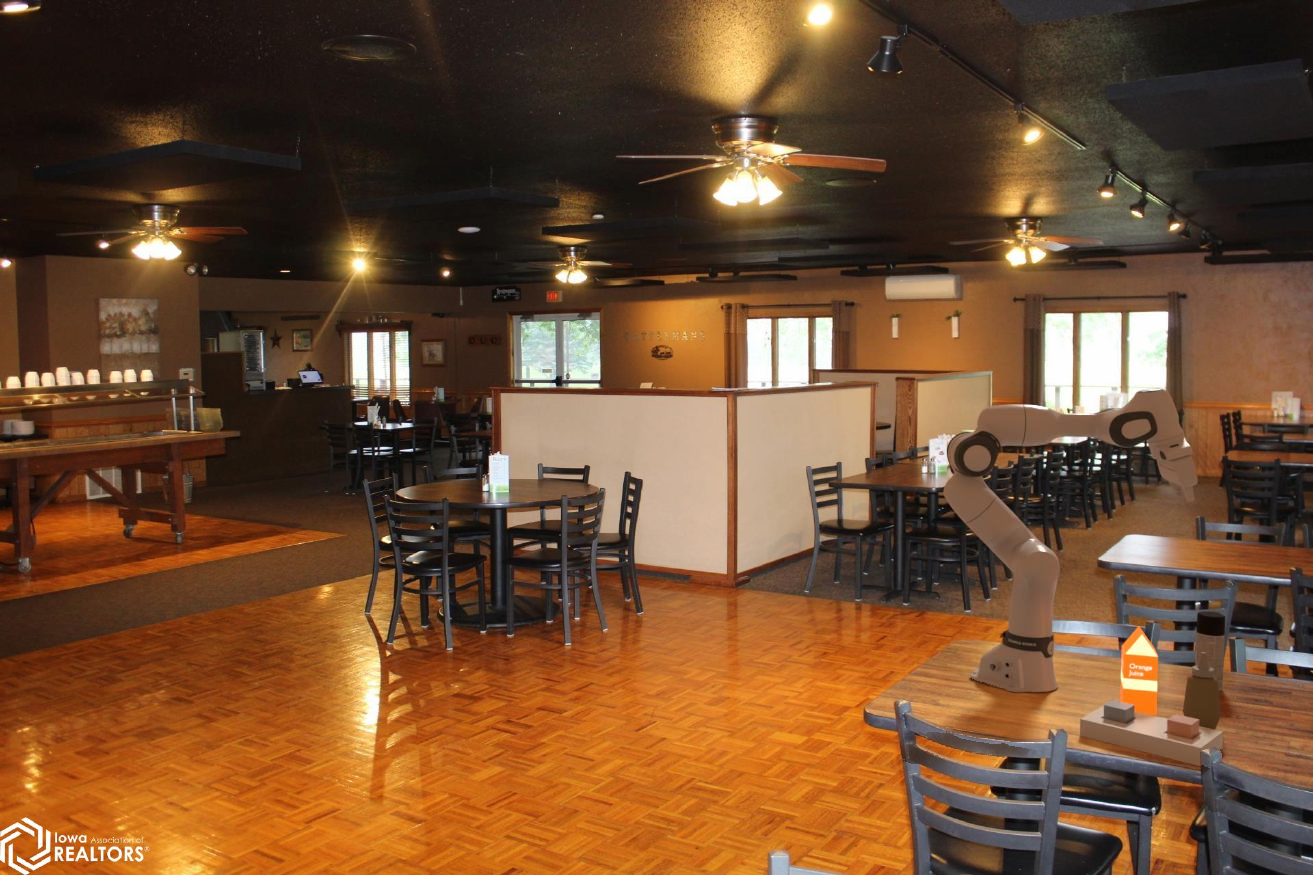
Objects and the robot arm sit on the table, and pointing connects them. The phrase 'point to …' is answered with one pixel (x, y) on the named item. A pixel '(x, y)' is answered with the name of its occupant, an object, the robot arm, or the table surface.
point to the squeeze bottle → (1202, 695)
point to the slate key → (1119, 711)
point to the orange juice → (1139, 673)
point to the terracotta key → (1183, 726)
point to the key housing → (1149, 736)
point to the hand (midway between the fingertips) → (1185, 498)
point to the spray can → (1211, 641)
